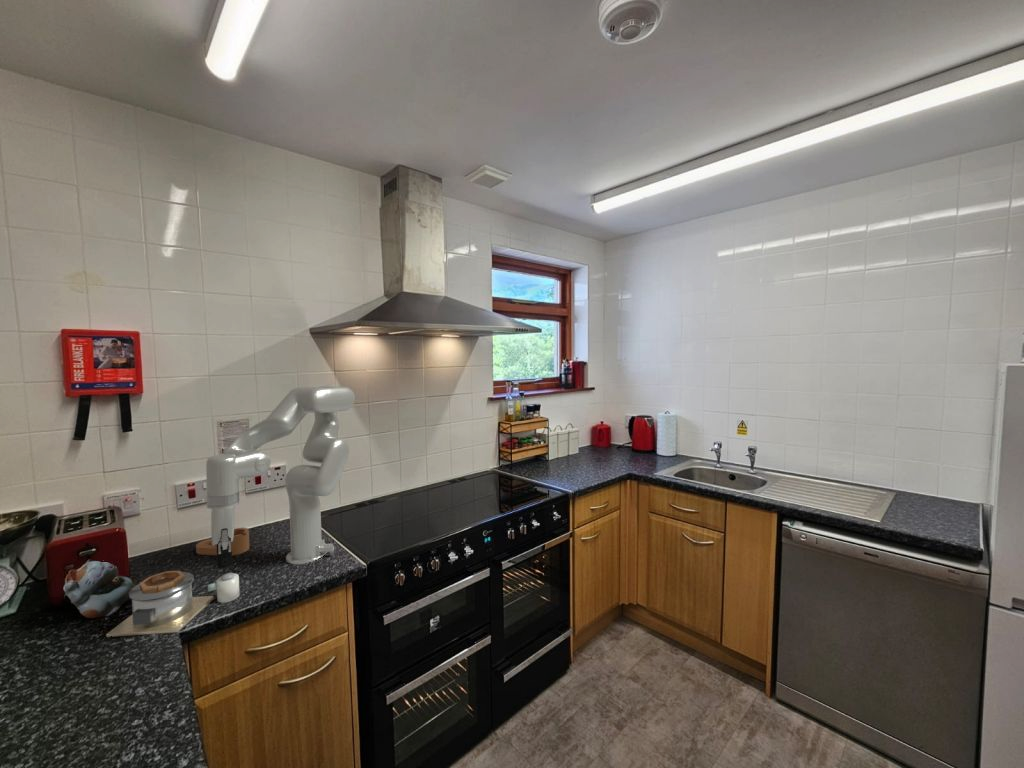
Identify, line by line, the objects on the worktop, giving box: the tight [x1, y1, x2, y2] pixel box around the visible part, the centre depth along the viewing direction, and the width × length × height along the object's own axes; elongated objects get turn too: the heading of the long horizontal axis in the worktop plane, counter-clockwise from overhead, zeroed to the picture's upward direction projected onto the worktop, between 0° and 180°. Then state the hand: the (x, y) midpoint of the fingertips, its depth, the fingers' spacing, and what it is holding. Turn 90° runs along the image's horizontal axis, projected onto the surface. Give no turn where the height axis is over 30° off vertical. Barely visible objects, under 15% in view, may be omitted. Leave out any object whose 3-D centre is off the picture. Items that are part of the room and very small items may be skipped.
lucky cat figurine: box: [63, 558, 135, 619], centre depth 115 cm, size 15×12×14 cm
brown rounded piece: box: [195, 527, 250, 556], centre depth 151 cm, size 18×8×7 cm, turn 83°
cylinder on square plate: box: [105, 570, 215, 638], centre depth 111 cm, size 16×15×10 cm
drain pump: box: [207, 572, 241, 604], centre depth 119 cm, size 7×5×7 cm
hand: (224, 560), depth 118 cm, fingers open, 9 cm apart
